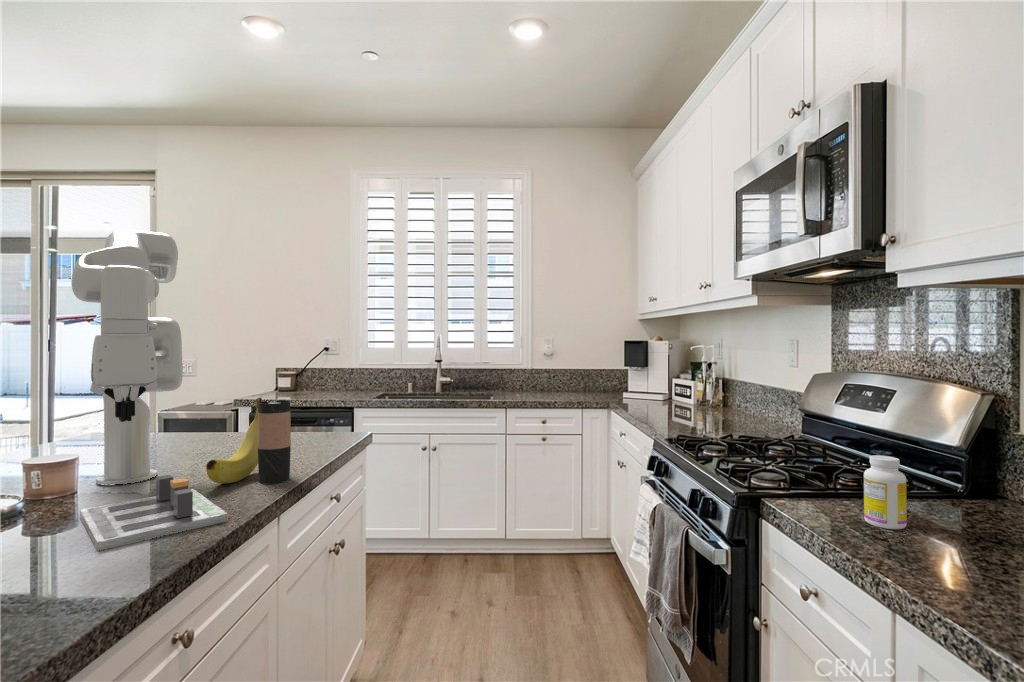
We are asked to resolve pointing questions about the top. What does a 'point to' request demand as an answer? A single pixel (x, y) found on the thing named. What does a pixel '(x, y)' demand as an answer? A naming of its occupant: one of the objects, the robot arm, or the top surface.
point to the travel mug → (274, 441)
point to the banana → (238, 457)
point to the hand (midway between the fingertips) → (125, 420)
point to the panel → (145, 520)
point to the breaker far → (163, 487)
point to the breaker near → (183, 503)
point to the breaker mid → (178, 487)
